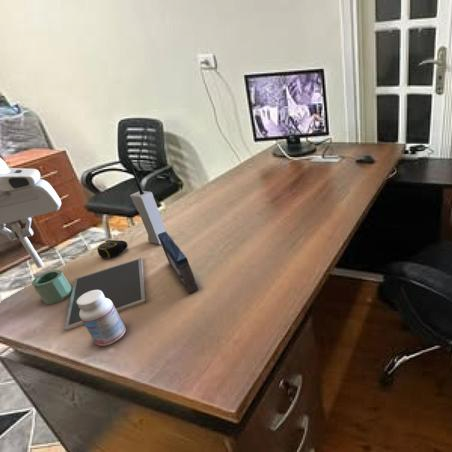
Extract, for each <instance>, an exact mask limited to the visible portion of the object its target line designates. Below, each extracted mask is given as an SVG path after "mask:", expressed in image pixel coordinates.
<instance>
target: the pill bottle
mask: <svg viewBox="0 0 452 452" xmlns="http://www.w3.org/2000/svg"><path fill="white" fill-rule="evenodd" d="M77 304H78V306H79V308H80V312H79V316H80V318H81V320H82V322H83V323H84V327H85V328H86V330H87V332H88V333H89V335H90V337H91V338H92V340H93V342H94V343H95V344H96V346H99V347H105V346H110V345H112V344H114V343H116V342H117V341H119V340H120V339H121V338H122V337H123V336H124V335H125V333H126V330H127V329H126V325H125V324H124V322H123V320H122V318H121V316H120V314H119V312H117V310H116V308H115V306H114V305H113V303H112V301H111V300H110V299H108V298H105V296H104V294H103V293H102V291H100V290H92V291H89V292H87V293H85V294H83V295H81V296H80V297H79V298H78V299H77Z"/></svg>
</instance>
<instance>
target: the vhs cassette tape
mask: <svg viewBox="0 0 452 452" xmlns="http://www.w3.org/2000/svg"><path fill="white" fill-rule="evenodd" d="M158 237H159V240H160V242H161V245H160V246H161V247H162V250H163V252H164V255H165V256H166V259H167V261H168V263H169V265H170V267H171V268H172V271H174V273H175V275H176V277H177V278H178V279H179V281H180V283H181V284H182V285H183V287H184V288H185V290H186V291H187V292H188V294H191V293H194V292H196V291H197V290H199V287H198V284H197V281H196V279H195V276H194V273H193V270H192V268H191V265H190V263H189V260H188V258H187V256H186V255H185V254H184V252H183V251H182V250H181V249H180V247H179V246H178V245H177V244H176V242H175V241H174V240H173V238H172V237H171V236H170V235H169V234H168V232H167V231H166V232H163V233H160V234H158Z"/></svg>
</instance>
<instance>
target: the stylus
mask: <svg viewBox="0 0 452 452" xmlns="http://www.w3.org/2000/svg"><path fill="white" fill-rule="evenodd" d="M8 224H9V225H10V227H11V229H12V231H15V233H16V235H17V236H18V238H19V239H18V240H19V241H20V243H21V244H22V245H23V248H24V249H25V250H26V252H27V253H28V255H29V256H30V258H31V260H32V262H33V263H34V265H35V266H36V268H37V269H41V268H43V267H44V266H45V264H44V263H43V261H42V259H41V257H40V256H39V254H38V252H37V251H36V249H35V247H34V246H33V244H32V243H31V241H30V240H29V238H28V237H24V236H23V235H24V234H22V232H21V231H22V229H23V228H22V226H21V225H20V223H19V222H18V221H14V222H10V223H8Z"/></svg>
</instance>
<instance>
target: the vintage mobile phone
mask: <svg viewBox="0 0 452 452" xmlns="http://www.w3.org/2000/svg"><path fill="white" fill-rule="evenodd" d="M130 170H131V172H132V175H133V178H134V180H135V183H136V186H137V188H138V191H136V192H134V193H132V194H130V199H131V201H132V202H133V203H132V204H134V207H135V209H136V211H137V212H138V214H139V216H140V219H141V221H142V224H143V226H144V228H145V231H146V233H147V240H148V242H149V243H150V244H155V245H160V246H162V245H161V242H160V240H159V237H158V234H160V233H163V232H167V229H166V226H165V224H164V221H163V218H162V216H161V214H160V211H159V208H158V205H157V202H156V200H155V197H154V194H153V192H151V191H146V190H143V188H142V186H141V183H140V180H139V179H138V177H137V174H136V172H135V169H134V167H130Z"/></svg>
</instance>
